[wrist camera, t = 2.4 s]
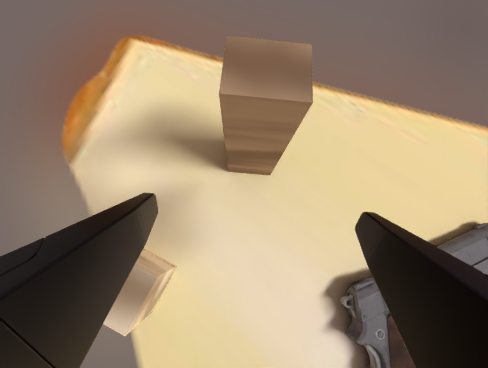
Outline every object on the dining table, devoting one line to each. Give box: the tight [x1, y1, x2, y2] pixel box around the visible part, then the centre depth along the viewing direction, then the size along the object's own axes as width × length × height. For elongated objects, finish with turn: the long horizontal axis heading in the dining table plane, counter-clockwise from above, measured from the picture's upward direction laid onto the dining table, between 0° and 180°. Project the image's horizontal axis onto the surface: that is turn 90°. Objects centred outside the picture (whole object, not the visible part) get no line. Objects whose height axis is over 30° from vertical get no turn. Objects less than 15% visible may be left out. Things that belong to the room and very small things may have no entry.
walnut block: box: [219, 36, 313, 175], centre depth 17 cm, size 4×5×13 cm
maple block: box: [103, 249, 177, 336], centre depth 17 cm, size 4×4×5 cm
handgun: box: [341, 223, 488, 368], centre depth 19 cm, size 3×22×14 cm
